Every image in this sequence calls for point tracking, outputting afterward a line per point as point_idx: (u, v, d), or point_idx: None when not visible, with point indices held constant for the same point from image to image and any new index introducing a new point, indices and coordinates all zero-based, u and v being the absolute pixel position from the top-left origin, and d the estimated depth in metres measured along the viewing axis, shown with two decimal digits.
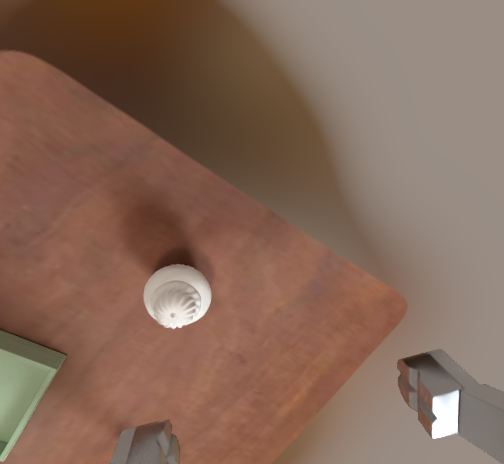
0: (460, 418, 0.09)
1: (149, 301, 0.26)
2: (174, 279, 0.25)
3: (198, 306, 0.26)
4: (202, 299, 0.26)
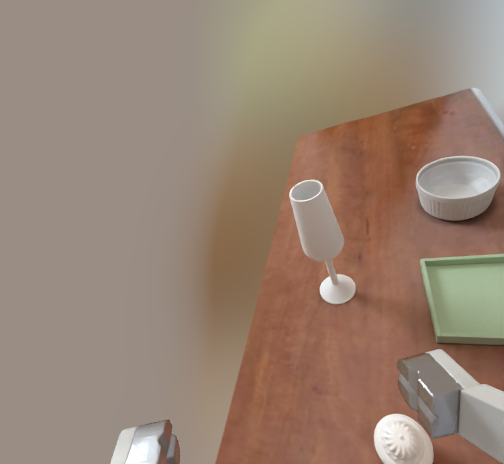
0: (460, 418, 0.09)
1: (421, 434, 0.33)
2: None
3: (385, 447, 0.33)
4: (385, 454, 0.33)
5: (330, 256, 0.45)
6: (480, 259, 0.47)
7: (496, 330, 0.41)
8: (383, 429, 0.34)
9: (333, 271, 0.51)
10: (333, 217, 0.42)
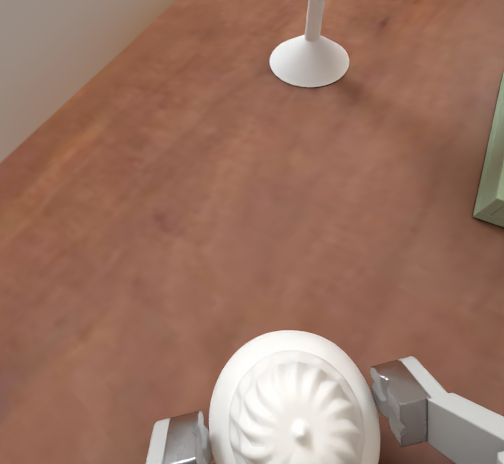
0: (428, 427, 0.09)
1: (365, 421, 0.10)
2: None
3: (234, 424, 0.09)
4: (225, 437, 0.10)
5: None
6: None
7: None
8: (255, 369, 0.10)
9: None
10: None
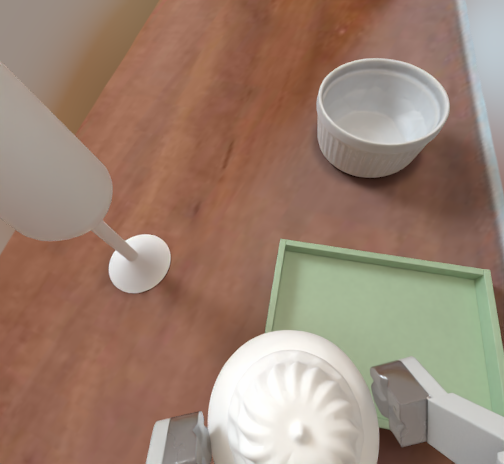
0: (428, 427, 0.09)
1: (364, 421, 0.10)
2: None
3: (232, 424, 0.09)
4: (224, 437, 0.10)
5: (58, 237, 0.18)
6: (367, 258, 0.28)
7: None
8: (254, 369, 0.10)
9: (115, 243, 0.26)
10: (32, 142, 0.14)
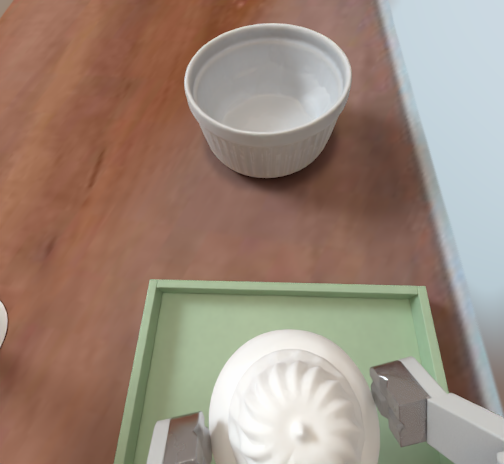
0: (428, 427, 0.09)
1: (365, 420, 0.10)
2: None
3: (233, 423, 0.09)
4: (225, 436, 0.10)
5: None
6: (267, 291, 0.21)
7: None
8: (255, 368, 0.10)
9: None
10: None
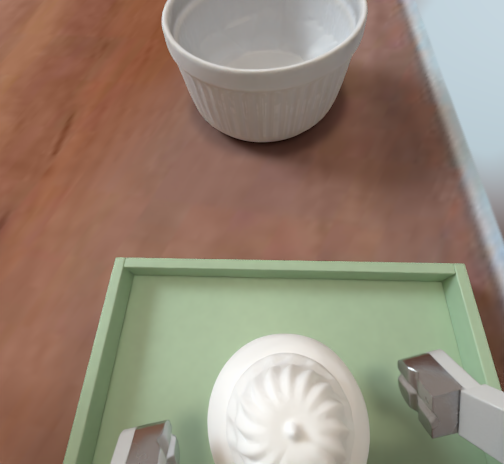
0: (460, 418, 0.09)
1: (355, 420, 0.10)
2: None
3: (231, 423, 0.10)
4: (223, 435, 0.10)
5: None
6: (263, 272, 0.16)
7: None
8: (251, 371, 0.10)
9: None
10: None
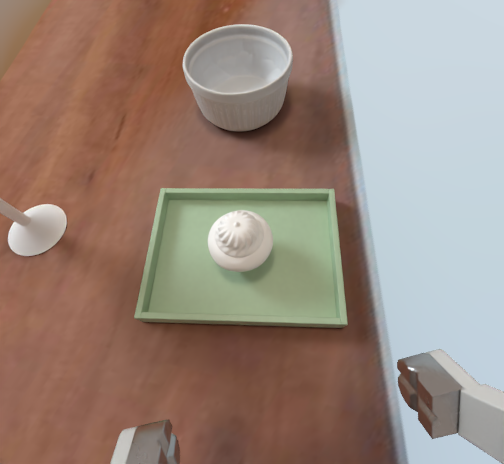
0: (460, 418, 0.09)
1: (265, 234, 0.26)
2: (242, 258, 0.25)
3: (216, 233, 0.26)
4: (213, 240, 0.26)
5: None
6: (235, 194, 0.32)
7: (219, 303, 0.28)
8: None
9: None
10: None
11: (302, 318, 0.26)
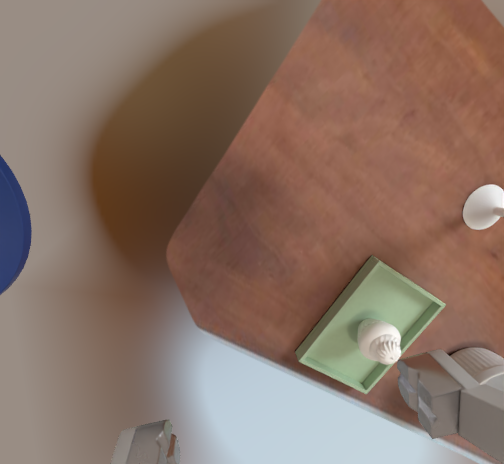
0: (460, 418, 0.09)
1: (373, 359, 0.41)
2: (370, 342, 0.41)
3: (394, 338, 0.40)
4: (391, 333, 0.40)
5: None
6: (405, 343, 0.46)
7: (350, 302, 0.44)
8: (399, 346, 0.41)
9: None
10: None
11: (316, 343, 0.43)
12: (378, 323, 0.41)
